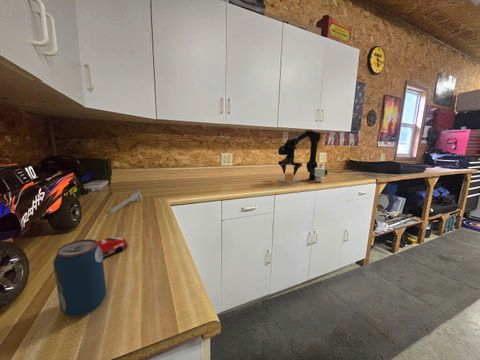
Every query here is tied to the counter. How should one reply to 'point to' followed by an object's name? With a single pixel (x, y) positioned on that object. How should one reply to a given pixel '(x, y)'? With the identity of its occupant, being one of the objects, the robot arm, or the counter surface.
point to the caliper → (131, 198)
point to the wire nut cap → (289, 177)
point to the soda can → (80, 277)
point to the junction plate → (288, 181)
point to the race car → (112, 246)
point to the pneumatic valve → (319, 173)
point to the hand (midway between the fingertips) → (289, 174)
